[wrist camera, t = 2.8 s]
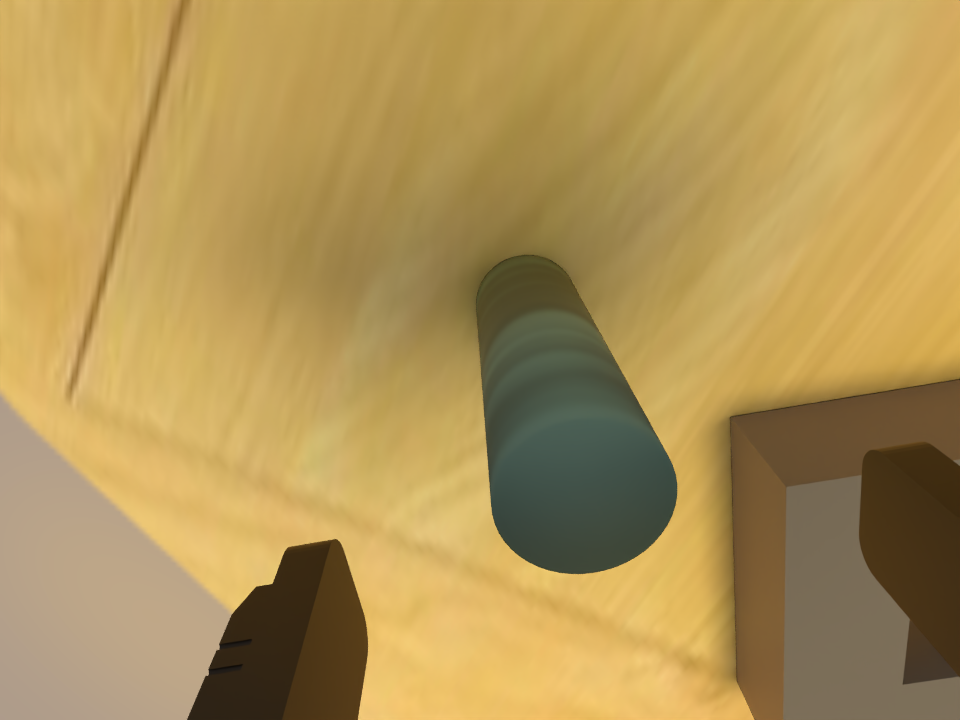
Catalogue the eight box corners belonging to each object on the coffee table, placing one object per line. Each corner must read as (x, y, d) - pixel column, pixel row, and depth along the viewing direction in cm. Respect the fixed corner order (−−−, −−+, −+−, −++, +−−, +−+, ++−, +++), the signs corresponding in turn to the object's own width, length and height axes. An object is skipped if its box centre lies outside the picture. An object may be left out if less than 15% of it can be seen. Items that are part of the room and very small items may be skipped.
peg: (467, 264, 19) (476, 434, 10) (569, 247, 19) (671, 402, 10) (485, 358, 21) (506, 586, 11) (581, 341, 20) (682, 559, 11)
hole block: (730, 417, 22) (786, 486, 18) (1107, 355, 21) (1244, 414, 17) (737, 681, 26) (782, 779, 23) (1046, 635, 26) (1143, 728, 22)
